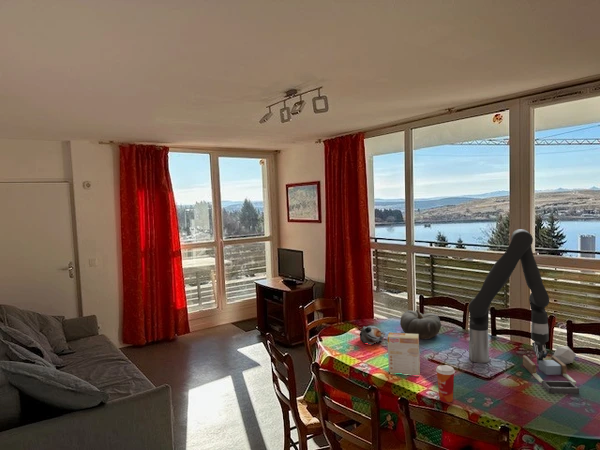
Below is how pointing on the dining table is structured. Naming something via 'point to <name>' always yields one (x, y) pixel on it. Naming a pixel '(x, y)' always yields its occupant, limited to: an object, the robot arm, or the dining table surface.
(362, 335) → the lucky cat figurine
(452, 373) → the paper cup
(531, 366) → the tunnel
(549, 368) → the block
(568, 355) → the die
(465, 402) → the dining table surface
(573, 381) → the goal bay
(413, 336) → the coffeecake box
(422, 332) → the gourd
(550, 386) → the tray
